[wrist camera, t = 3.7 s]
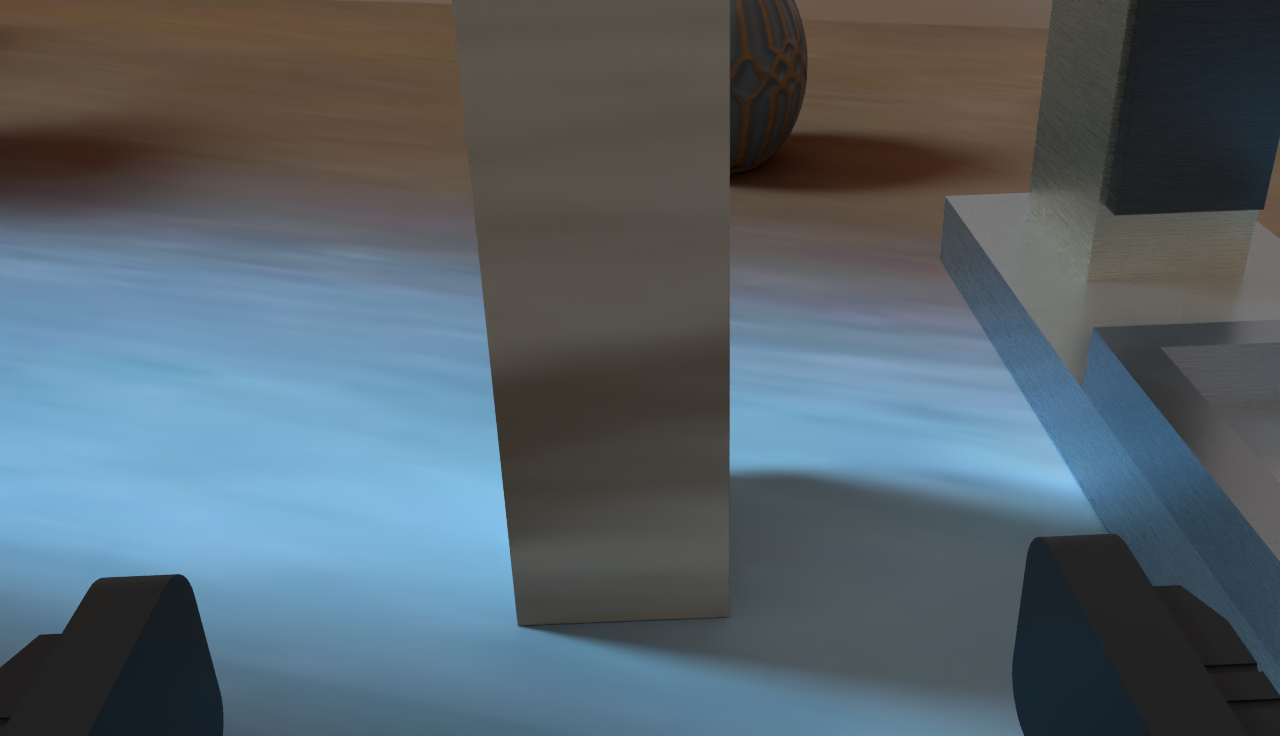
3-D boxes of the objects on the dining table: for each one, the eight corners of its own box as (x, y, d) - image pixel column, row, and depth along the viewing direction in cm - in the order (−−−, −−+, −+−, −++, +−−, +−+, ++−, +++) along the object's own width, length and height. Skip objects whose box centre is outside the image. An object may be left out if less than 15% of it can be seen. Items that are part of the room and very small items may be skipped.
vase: (836, 148, 47) (846, -90, 43) (744, 202, 42) (746, -60, 38) (689, 123, 51) (685, -98, 47) (589, 170, 46) (574, -73, 42)
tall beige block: (728, 616, 23) (729, -46, 17) (517, 625, 23) (448, -34, 17) (707, 457, 28) (702, -97, 22) (534, 464, 28) (484, -89, 22)
